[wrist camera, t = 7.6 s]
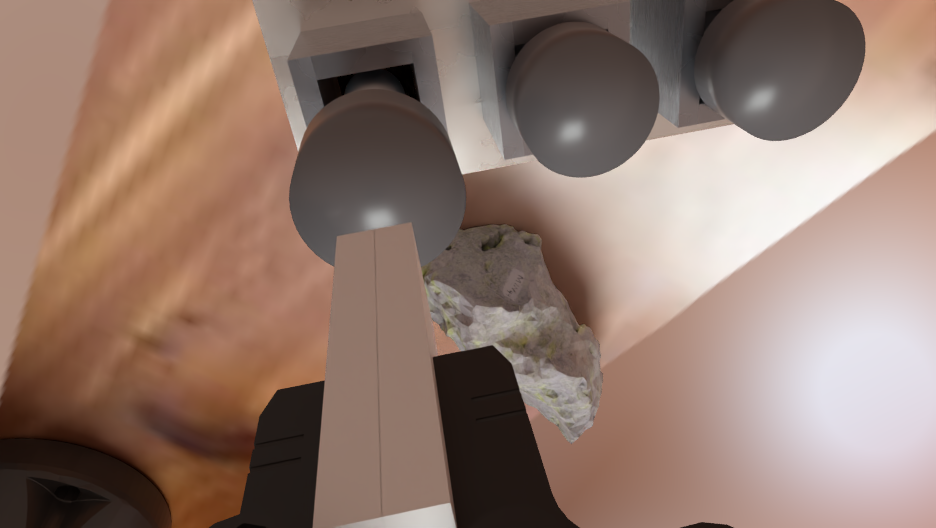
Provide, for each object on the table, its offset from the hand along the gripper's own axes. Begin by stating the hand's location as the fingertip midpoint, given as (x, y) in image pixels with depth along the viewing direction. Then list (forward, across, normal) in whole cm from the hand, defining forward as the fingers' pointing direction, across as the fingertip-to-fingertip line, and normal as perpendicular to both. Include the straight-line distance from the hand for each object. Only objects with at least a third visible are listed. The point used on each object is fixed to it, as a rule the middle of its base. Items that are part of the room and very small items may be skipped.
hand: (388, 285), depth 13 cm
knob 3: (+18, +14, 0) cm, 22 cm away
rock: (+19, +5, -14) cm, 24 cm away
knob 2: (+18, +7, 0) cm, 19 cm away
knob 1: (+14, 0, 0) cm, 14 cm away
